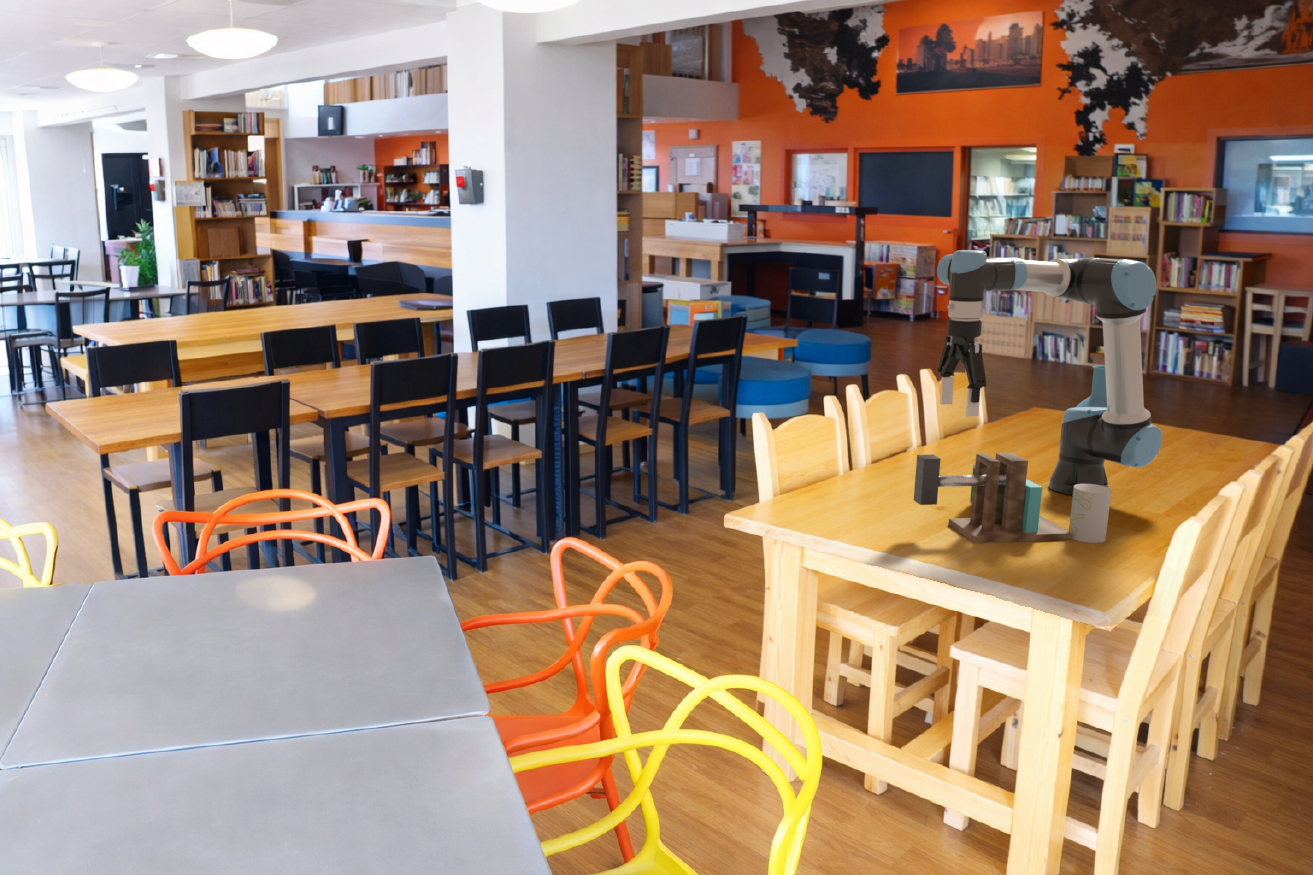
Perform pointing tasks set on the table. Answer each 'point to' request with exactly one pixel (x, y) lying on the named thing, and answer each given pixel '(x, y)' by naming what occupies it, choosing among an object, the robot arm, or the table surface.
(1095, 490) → the cup
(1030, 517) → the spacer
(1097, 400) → the vase
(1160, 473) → the table surface
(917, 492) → the shaft
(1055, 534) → the stand
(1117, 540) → the table surface
